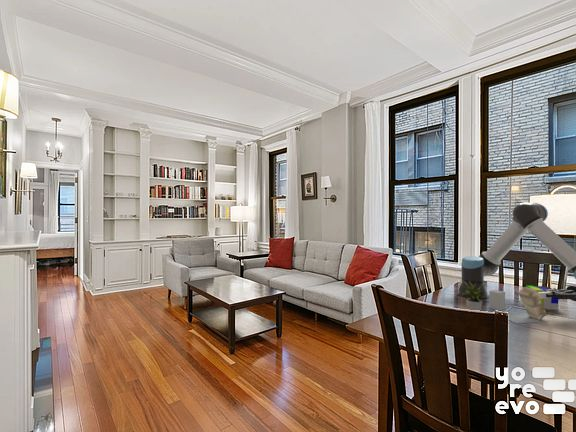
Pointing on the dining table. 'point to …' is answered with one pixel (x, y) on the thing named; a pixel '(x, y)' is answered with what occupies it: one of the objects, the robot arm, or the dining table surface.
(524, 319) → the felt mat
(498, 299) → the grey block
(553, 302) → the puzzle toy
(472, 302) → the house plant
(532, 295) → the maple block
